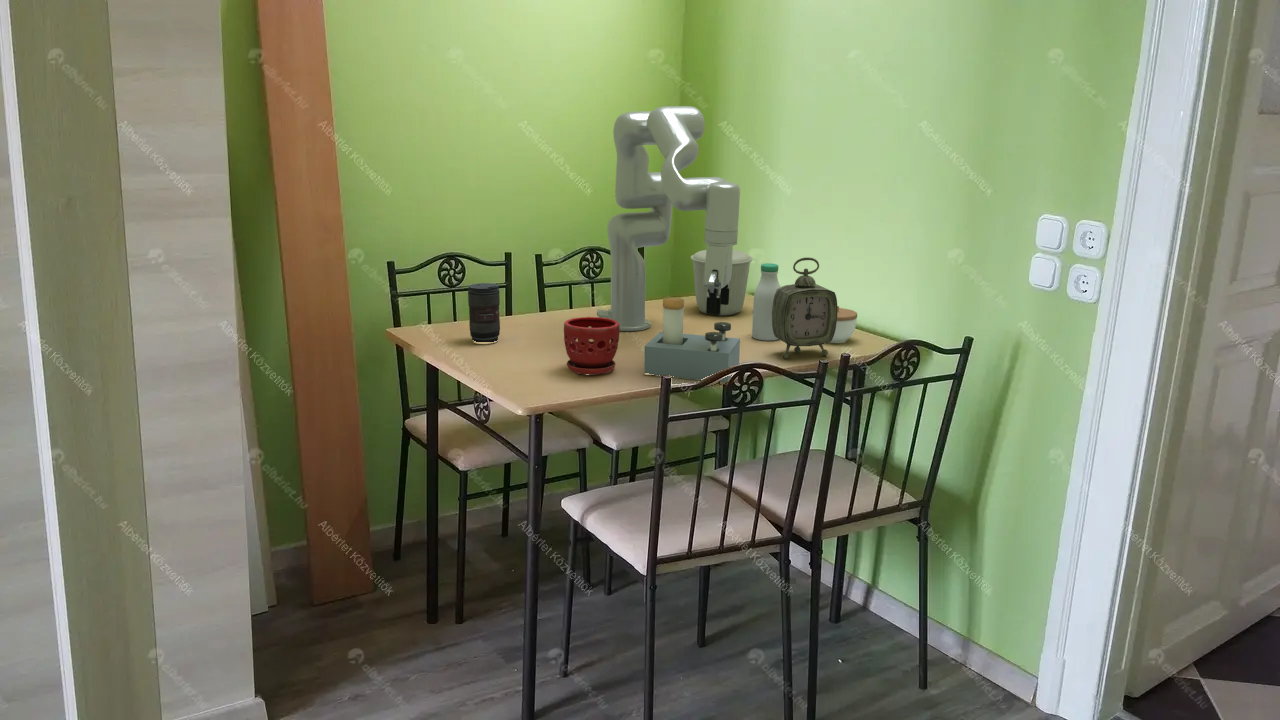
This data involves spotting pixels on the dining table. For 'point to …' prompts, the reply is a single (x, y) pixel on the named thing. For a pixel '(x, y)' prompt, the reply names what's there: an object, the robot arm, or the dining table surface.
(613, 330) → the plant pot
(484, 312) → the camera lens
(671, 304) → the cylinder
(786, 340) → the tabletop clock
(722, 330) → the plunger
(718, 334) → the plunger
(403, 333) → the dining table surface
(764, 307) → the milk bottle
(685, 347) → the housing
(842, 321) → the lidded jar
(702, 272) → the canister
